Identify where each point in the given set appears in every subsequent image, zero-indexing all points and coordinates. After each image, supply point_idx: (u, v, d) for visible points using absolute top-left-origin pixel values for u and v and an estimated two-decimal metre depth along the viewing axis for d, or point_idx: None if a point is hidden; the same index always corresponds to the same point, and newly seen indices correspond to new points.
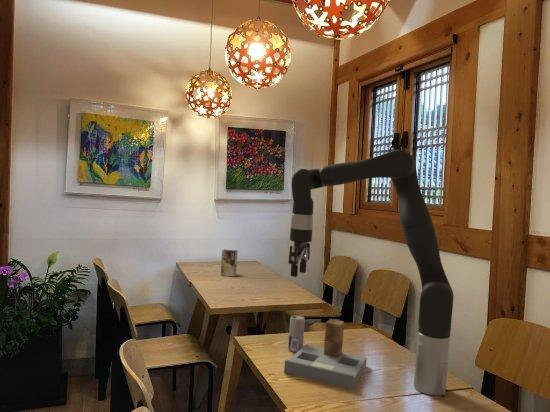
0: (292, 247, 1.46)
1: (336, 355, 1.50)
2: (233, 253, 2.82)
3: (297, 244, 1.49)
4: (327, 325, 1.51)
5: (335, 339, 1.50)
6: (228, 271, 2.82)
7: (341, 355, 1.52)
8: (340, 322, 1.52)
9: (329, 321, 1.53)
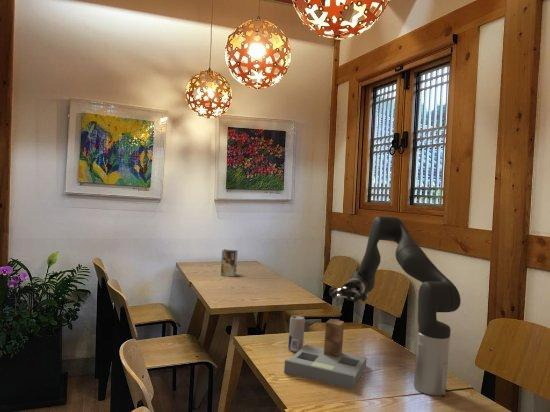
0: None
1: (336, 355, 1.50)
2: (233, 253, 2.82)
3: None
4: (327, 325, 1.51)
5: (335, 339, 1.50)
6: (228, 271, 2.82)
7: (341, 355, 1.52)
8: (340, 322, 1.52)
9: (329, 321, 1.53)
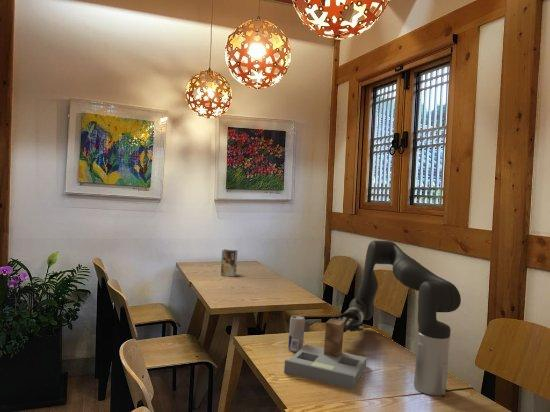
0: None
1: (336, 355, 1.50)
2: (233, 253, 2.82)
3: None
4: (327, 325, 1.51)
5: (335, 339, 1.50)
6: (228, 271, 2.82)
7: (341, 355, 1.52)
8: (340, 322, 1.52)
9: (329, 321, 1.53)
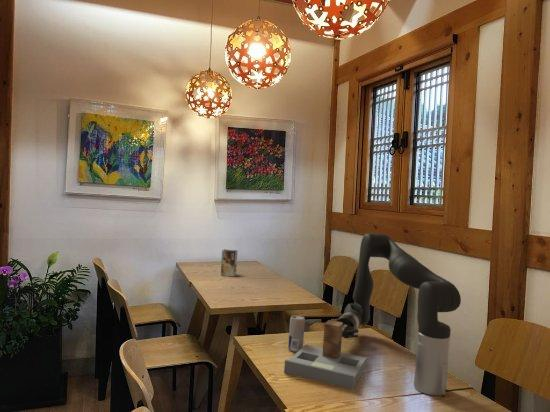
0: None
1: (335, 356, 1.48)
2: (233, 253, 2.82)
3: None
4: (326, 326, 1.49)
5: (334, 340, 1.48)
6: (228, 271, 2.82)
7: (341, 355, 1.52)
8: (339, 323, 1.51)
9: (328, 322, 1.51)
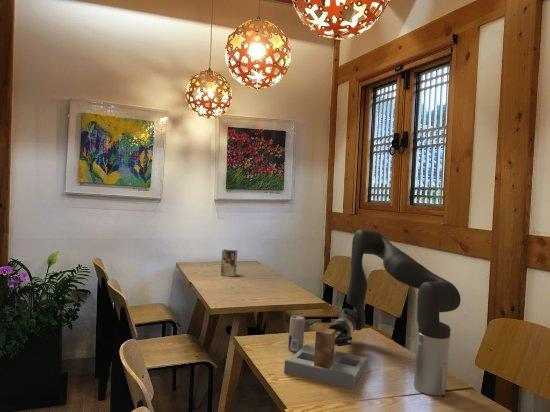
0: None
1: (327, 366, 1.40)
2: (233, 253, 2.82)
3: None
4: (317, 334, 1.41)
5: (326, 349, 1.40)
6: (228, 271, 2.82)
7: (341, 355, 1.52)
8: (331, 331, 1.42)
9: (320, 329, 1.43)
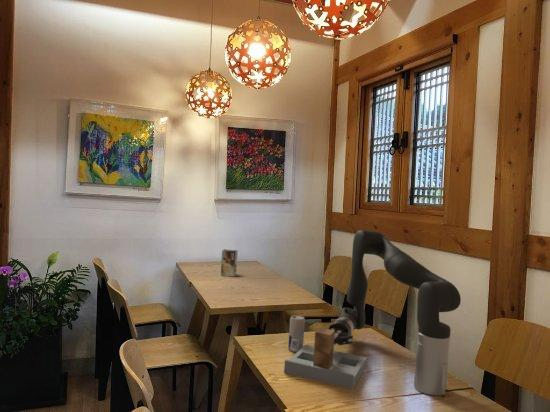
0: None
1: (326, 367, 1.39)
2: (233, 253, 2.82)
3: None
4: (316, 335, 1.40)
5: (325, 350, 1.39)
6: (228, 271, 2.82)
7: (341, 355, 1.52)
8: (330, 331, 1.42)
9: (319, 330, 1.42)
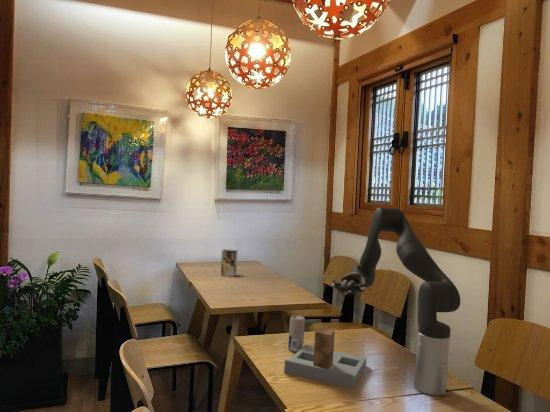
0: (332, 284, 1.68)
1: (326, 367, 1.39)
2: (233, 253, 2.82)
3: None
4: (316, 335, 1.40)
5: (325, 350, 1.39)
6: (228, 271, 2.82)
7: (341, 355, 1.52)
8: (330, 331, 1.42)
9: (319, 330, 1.42)
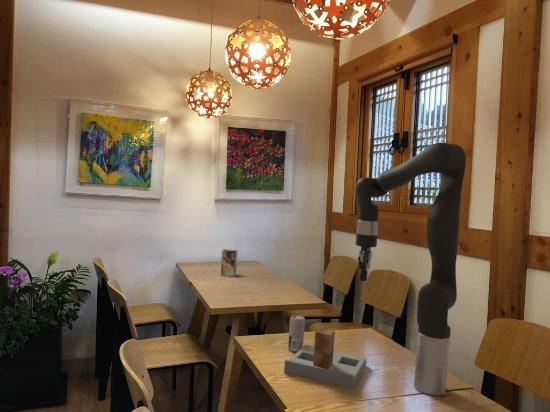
0: (360, 259, 1.55)
1: (326, 367, 1.39)
2: (233, 253, 2.82)
3: (364, 249, 1.57)
4: (316, 335, 1.40)
5: (325, 350, 1.39)
6: (228, 271, 2.82)
7: (341, 355, 1.52)
8: (330, 331, 1.42)
9: (319, 330, 1.42)
